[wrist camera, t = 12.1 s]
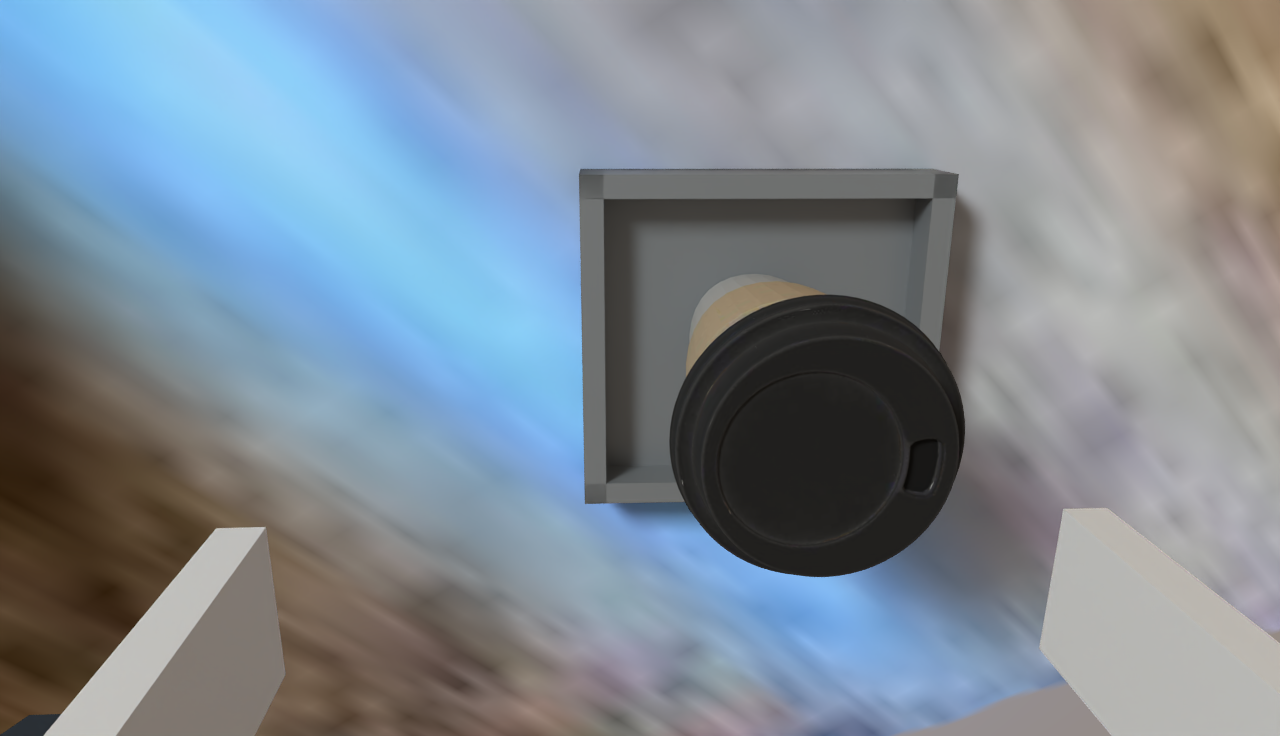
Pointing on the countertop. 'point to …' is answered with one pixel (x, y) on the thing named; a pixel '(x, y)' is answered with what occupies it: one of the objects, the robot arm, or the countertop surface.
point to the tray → (719, 249)
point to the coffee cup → (812, 427)
